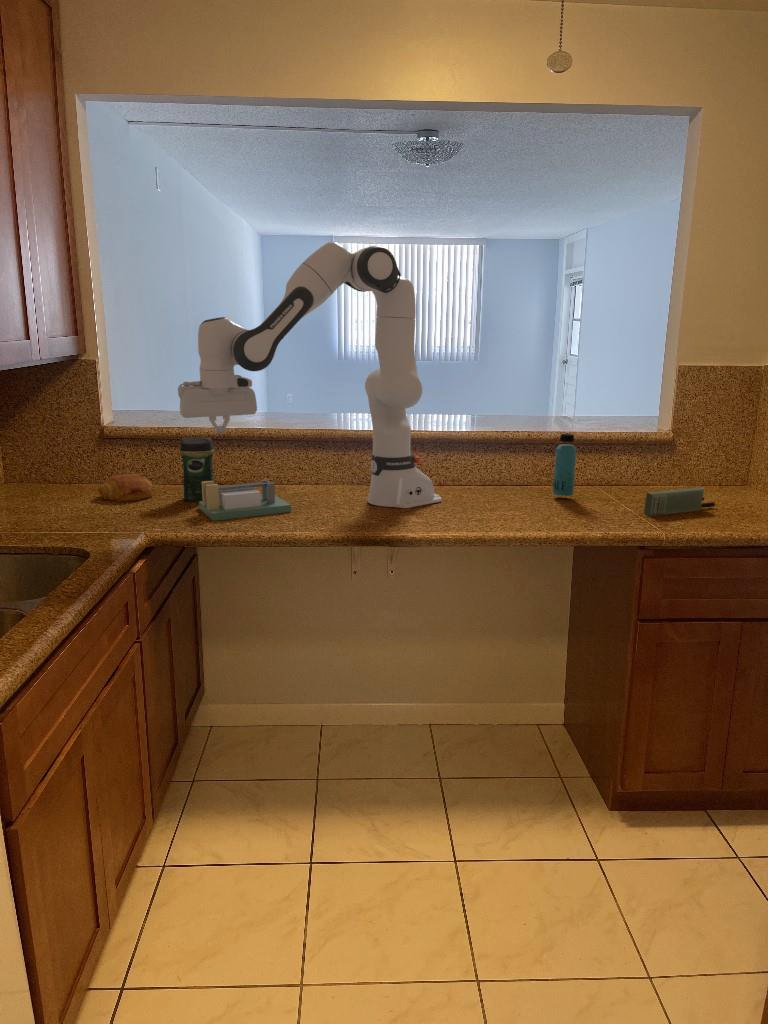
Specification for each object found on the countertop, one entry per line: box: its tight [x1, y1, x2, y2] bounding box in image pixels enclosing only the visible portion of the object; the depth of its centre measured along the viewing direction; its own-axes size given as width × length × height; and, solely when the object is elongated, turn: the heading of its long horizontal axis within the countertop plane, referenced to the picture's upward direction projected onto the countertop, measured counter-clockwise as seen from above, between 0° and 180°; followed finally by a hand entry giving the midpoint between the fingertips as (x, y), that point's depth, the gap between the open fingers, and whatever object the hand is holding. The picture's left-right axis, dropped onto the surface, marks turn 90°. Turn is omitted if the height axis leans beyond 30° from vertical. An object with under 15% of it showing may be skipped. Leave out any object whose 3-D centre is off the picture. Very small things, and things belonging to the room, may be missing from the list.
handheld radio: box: [643, 486, 716, 516], centre depth 199 cm, size 7×3×25 cm
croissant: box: [98, 473, 154, 503], centre depth 209 cm, size 14×16×8 cm
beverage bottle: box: [552, 433, 578, 497], centre depth 211 cm, size 6×7×20 cm
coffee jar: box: [179, 436, 216, 502], centre depth 205 cm, size 10×8×19 cm
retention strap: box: [218, 479, 272, 490], centre depth 193 cm, size 18×3×2 cm, turn 118°
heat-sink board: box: [198, 479, 292, 522], centre depth 194 cm, size 22×15×9 cm
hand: (220, 432), depth 187 cm, fingers closed
